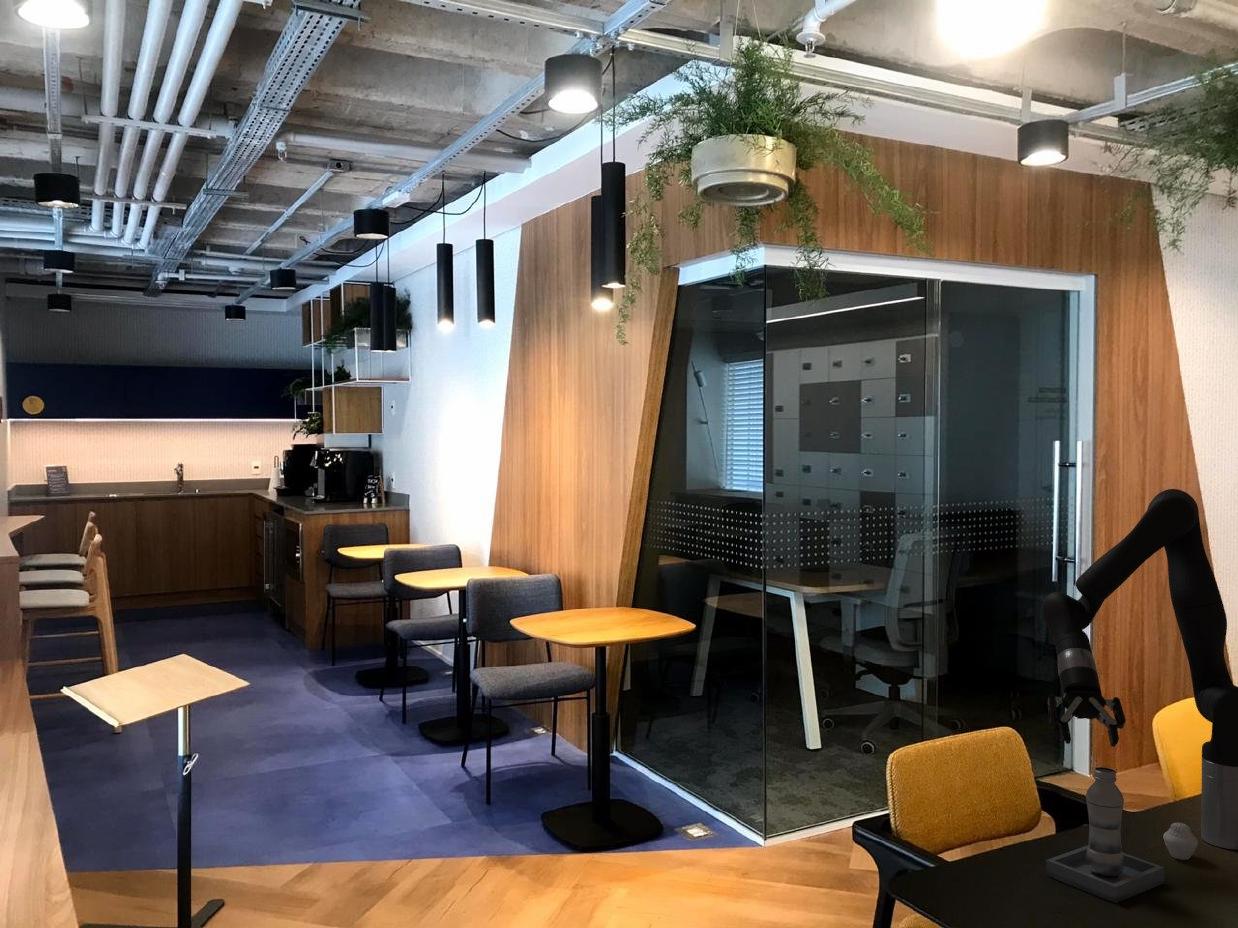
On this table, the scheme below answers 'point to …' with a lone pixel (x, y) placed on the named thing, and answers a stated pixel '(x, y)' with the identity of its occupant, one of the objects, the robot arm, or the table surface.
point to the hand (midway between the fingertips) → (1091, 743)
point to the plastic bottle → (1105, 824)
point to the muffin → (1180, 841)
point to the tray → (1111, 888)
